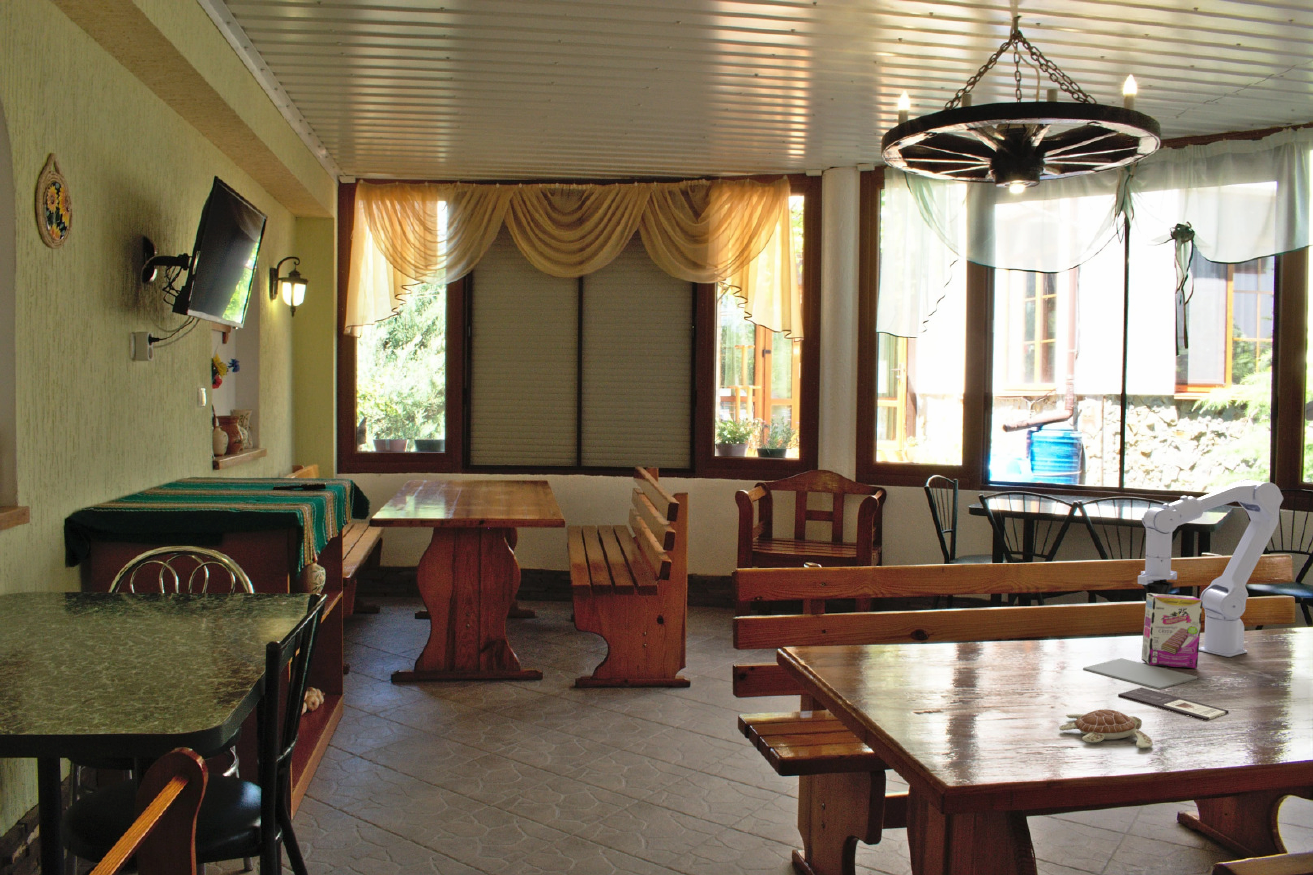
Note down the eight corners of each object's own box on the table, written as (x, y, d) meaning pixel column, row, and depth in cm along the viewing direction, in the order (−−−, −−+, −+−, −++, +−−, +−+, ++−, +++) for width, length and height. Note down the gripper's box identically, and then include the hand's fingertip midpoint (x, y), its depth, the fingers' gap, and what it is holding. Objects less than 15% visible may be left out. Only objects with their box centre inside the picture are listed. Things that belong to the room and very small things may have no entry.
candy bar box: (1149, 665, 229) (1153, 596, 228) (1140, 660, 234) (1144, 592, 233) (1199, 669, 228) (1203, 599, 227) (1189, 663, 233) (1193, 595, 232)
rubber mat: (1121, 659, 235) (1121, 658, 235) (1197, 678, 220) (1197, 676, 220) (1083, 669, 226) (1083, 667, 226) (1159, 689, 211) (1159, 687, 211)
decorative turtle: (1181, 748, 177) (1182, 721, 177) (1110, 759, 171) (1111, 731, 171) (1103, 717, 194) (1104, 692, 194) (1036, 725, 188) (1037, 700, 188)
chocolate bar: (1141, 687, 211) (1228, 710, 196) (1141, 691, 211) (1228, 715, 196) (1118, 694, 206) (1205, 718, 191) (1118, 698, 206) (1205, 723, 191)
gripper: (1158, 551, 250) (1156, 604, 251) (1126, 556, 242) (1124, 610, 243) (1186, 555, 244) (1184, 609, 245) (1154, 560, 236) (1152, 616, 237)
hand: (1156, 610), depth 243 cm, fingers closed
